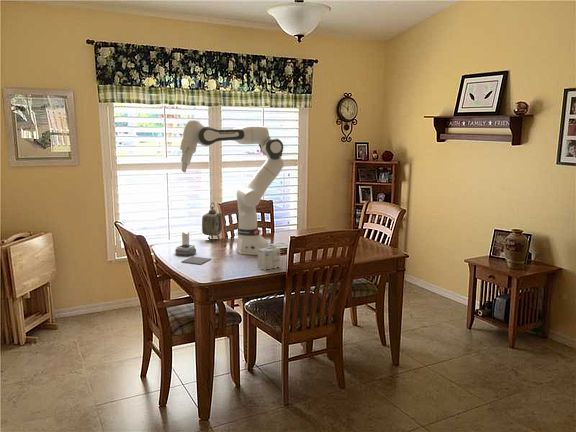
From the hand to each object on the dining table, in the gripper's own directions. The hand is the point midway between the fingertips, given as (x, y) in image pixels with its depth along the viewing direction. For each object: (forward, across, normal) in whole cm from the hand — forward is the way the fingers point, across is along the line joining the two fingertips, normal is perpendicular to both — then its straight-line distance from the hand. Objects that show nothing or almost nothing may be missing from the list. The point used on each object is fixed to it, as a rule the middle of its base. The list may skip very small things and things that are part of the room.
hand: (183, 171), depth 292 cm
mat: (+48, -9, -17) cm, 52 cm away
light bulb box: (+43, -25, -56) cm, 75 cm away
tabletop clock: (+38, +45, -24) cm, 64 cm away
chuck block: (+47, +8, -10) cm, 49 cm away
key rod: (+44, +8, -10) cm, 46 cm away
